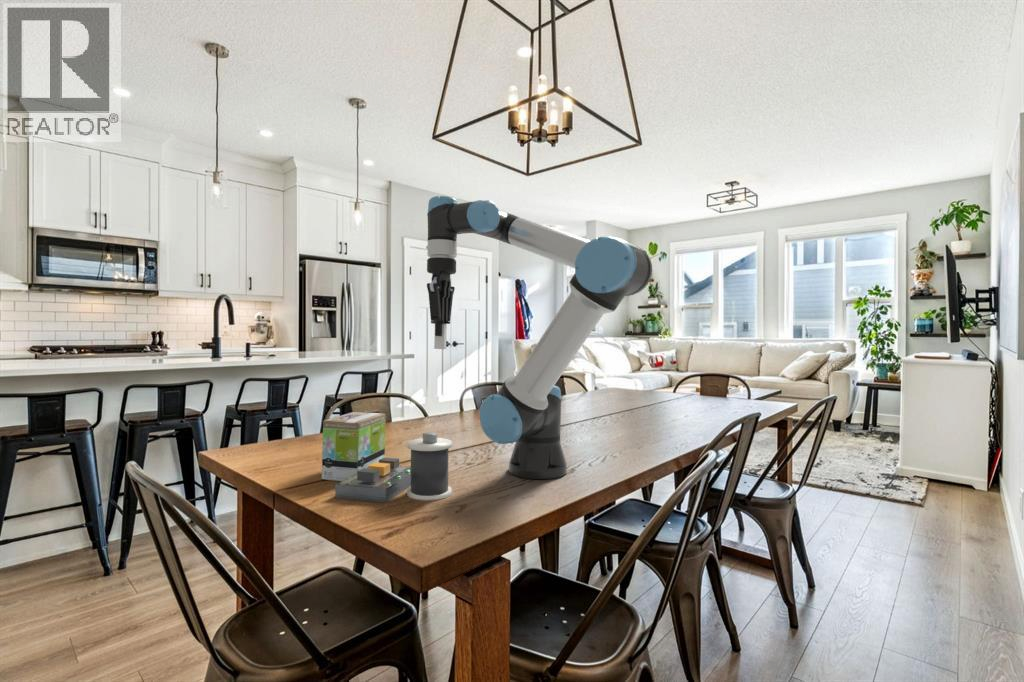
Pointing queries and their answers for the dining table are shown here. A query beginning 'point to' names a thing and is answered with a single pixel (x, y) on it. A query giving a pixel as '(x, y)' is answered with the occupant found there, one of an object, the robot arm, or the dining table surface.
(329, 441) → the tea box
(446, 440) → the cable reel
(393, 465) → the paddle
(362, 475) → the paddle
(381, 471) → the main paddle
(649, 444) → the dining table surface
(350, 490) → the breaker strip
